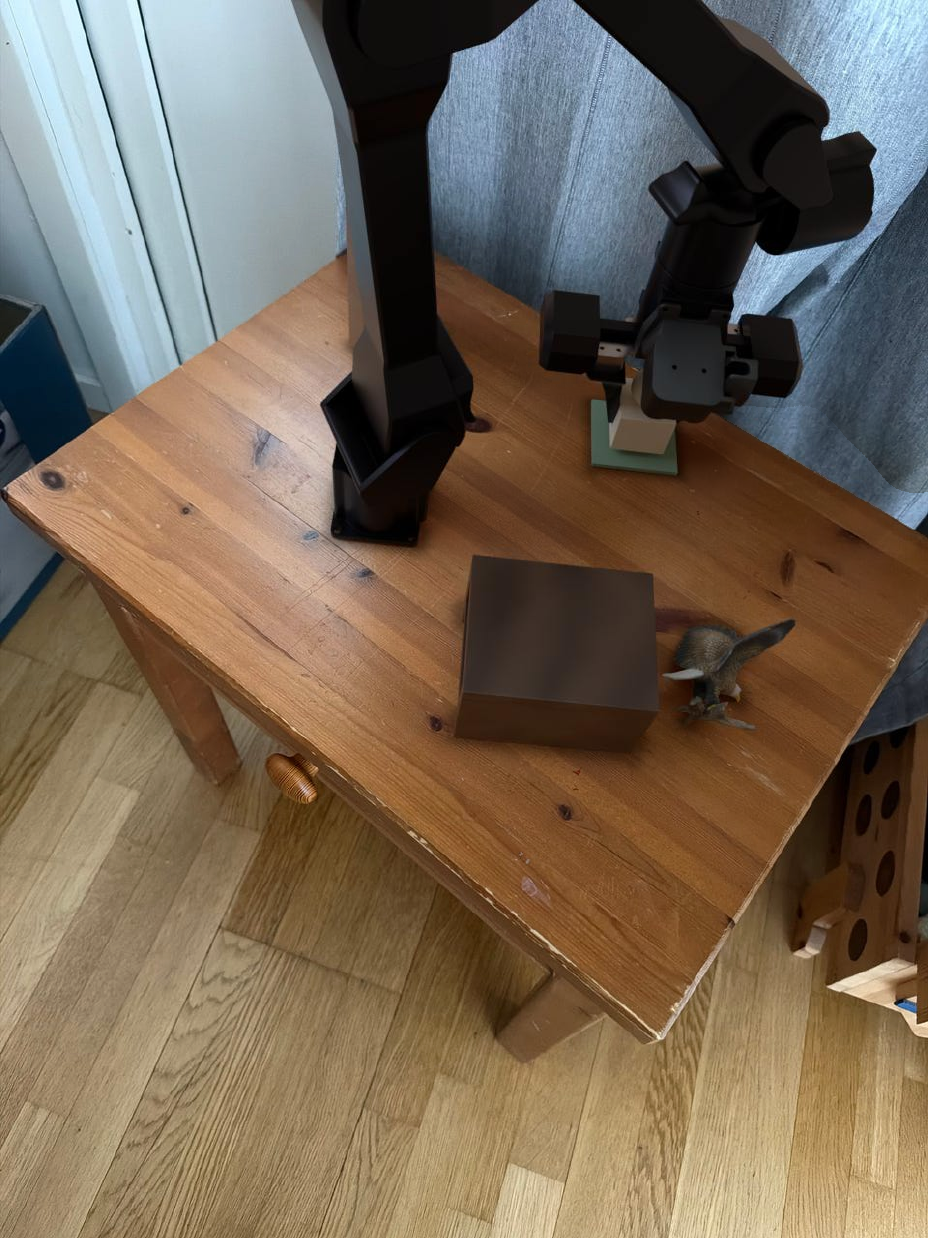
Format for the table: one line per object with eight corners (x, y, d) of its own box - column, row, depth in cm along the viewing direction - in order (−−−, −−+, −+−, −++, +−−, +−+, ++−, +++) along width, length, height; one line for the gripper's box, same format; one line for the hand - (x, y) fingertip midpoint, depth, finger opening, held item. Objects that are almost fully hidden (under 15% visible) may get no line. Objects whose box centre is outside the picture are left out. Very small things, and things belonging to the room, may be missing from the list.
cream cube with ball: (609, 448, 72) (631, 387, 66) (608, 408, 74) (629, 344, 68) (663, 454, 72) (689, 393, 66) (660, 414, 75) (686, 351, 69)
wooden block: (371, 367, 75) (372, 209, 62) (348, 344, 76) (343, 184, 64) (431, 336, 78) (444, 177, 65) (407, 314, 79) (415, 153, 66)
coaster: (591, 466, 72) (592, 463, 72) (590, 402, 76) (591, 398, 75) (676, 475, 73) (677, 472, 72) (671, 411, 76) (673, 408, 76)
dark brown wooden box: (453, 737, 60) (462, 692, 54) (462, 608, 65) (472, 554, 59) (630, 754, 60) (660, 711, 54) (626, 625, 65) (653, 573, 59)
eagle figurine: (769, 757, 60) (811, 642, 63) (741, 709, 55) (788, 586, 57) (665, 730, 64) (708, 624, 67) (631, 684, 59) (679, 572, 62)
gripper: (559, 328, 55) (521, 488, 68) (857, 364, 55) (761, 514, 69) (560, 212, 60) (525, 381, 74) (831, 246, 61) (747, 407, 75)
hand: (638, 422), depth 73 cm, fingers closed on cream cube with ball, 4 cm apart
